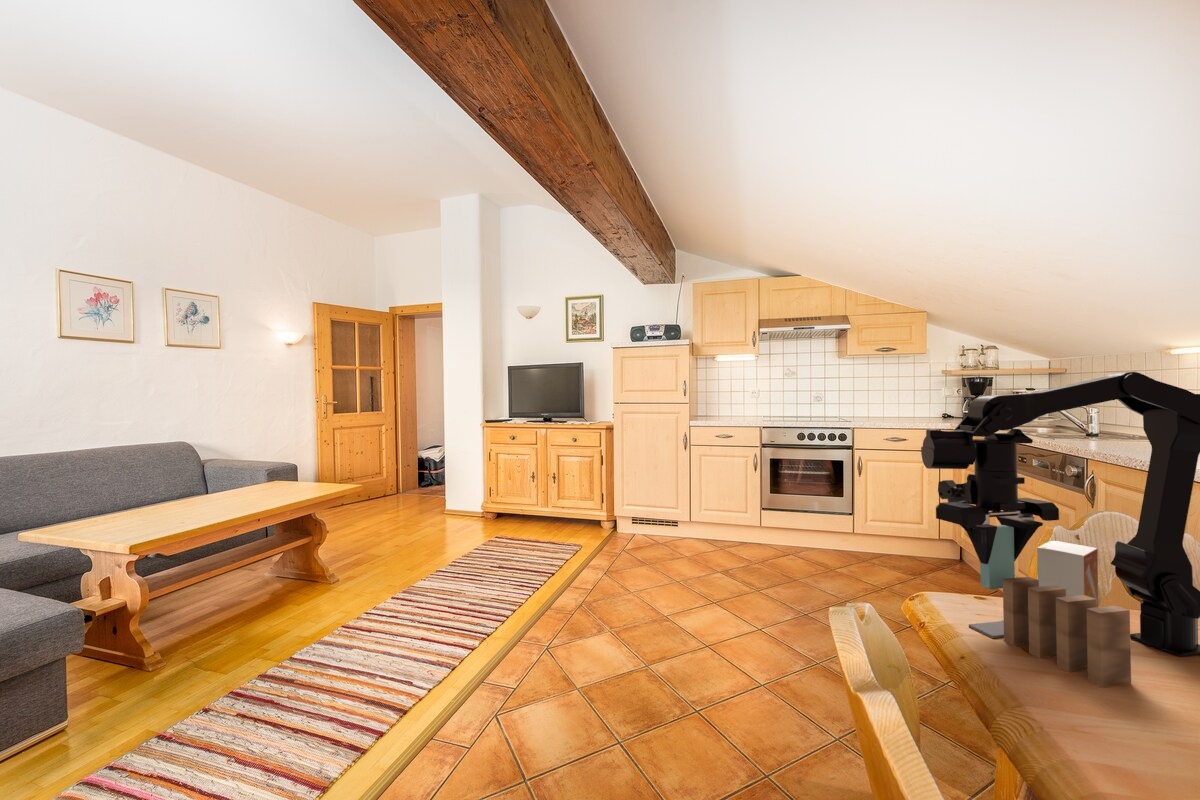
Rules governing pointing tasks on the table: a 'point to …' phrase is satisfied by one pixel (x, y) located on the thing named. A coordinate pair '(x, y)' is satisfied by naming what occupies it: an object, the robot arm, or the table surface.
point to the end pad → (990, 628)
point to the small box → (1069, 568)
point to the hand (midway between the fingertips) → (997, 562)
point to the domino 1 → (999, 559)
